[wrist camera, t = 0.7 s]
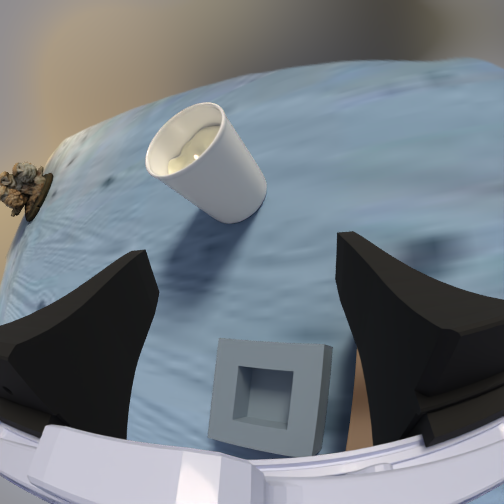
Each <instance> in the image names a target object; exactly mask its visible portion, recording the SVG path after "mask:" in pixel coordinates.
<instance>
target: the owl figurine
mask: <svg viewBox="0 0 504 504" xmlns="http://www.w3.org/2000/svg"><path fill="white" fill-rule="evenodd" d="M52 177H53V174H52V173H49V174H45V175H44V176H43V167H42V166H41V167H40V168H39V170H38V171H37V169H36V167H35V166H34V165H32V164H31V163H28V162H25V163H23V164H22V163H16V164H15V165H14V167H13V174H9V173H8V172H2V173H1V174H0V185H1V187H0V200H1V201H2V202H4V203H5V204H6V206H8V207H9V208H12V209H13V210H12V214H11V216H15V215H16V216H17V215H19V213H20V212H21V210H22V208H23V207H24V205H25V217H26V221H32V220H33V219H34V218H35V216H36V215H37V213H38V211H39V210H40V208H39V207H41V206H42V204H43V202H44V200H45V198H46V196H47V194H48V192H49V189H50V187H51V184H52V181H53V178H52ZM38 205H39V207H37V206H38Z"/></svg>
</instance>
